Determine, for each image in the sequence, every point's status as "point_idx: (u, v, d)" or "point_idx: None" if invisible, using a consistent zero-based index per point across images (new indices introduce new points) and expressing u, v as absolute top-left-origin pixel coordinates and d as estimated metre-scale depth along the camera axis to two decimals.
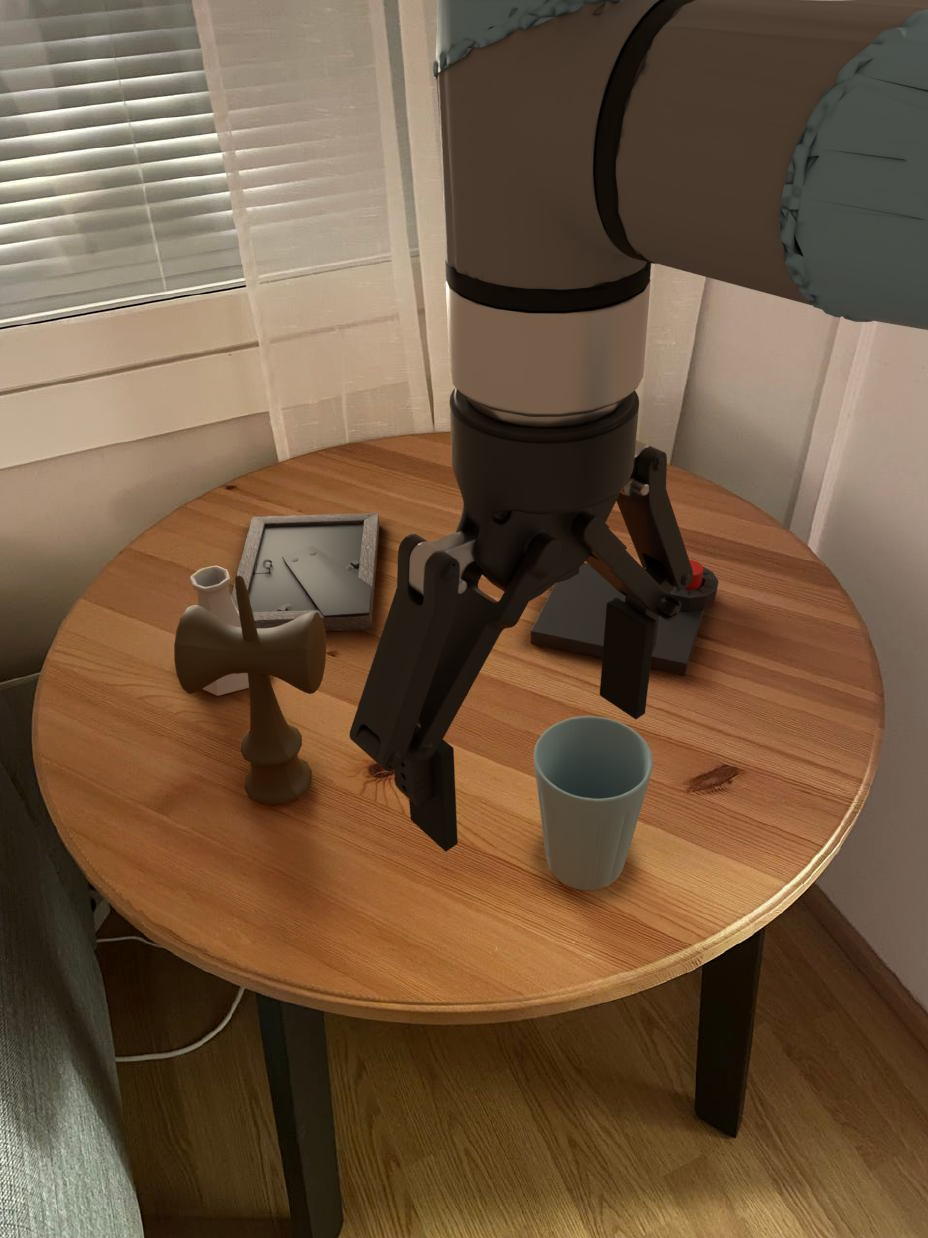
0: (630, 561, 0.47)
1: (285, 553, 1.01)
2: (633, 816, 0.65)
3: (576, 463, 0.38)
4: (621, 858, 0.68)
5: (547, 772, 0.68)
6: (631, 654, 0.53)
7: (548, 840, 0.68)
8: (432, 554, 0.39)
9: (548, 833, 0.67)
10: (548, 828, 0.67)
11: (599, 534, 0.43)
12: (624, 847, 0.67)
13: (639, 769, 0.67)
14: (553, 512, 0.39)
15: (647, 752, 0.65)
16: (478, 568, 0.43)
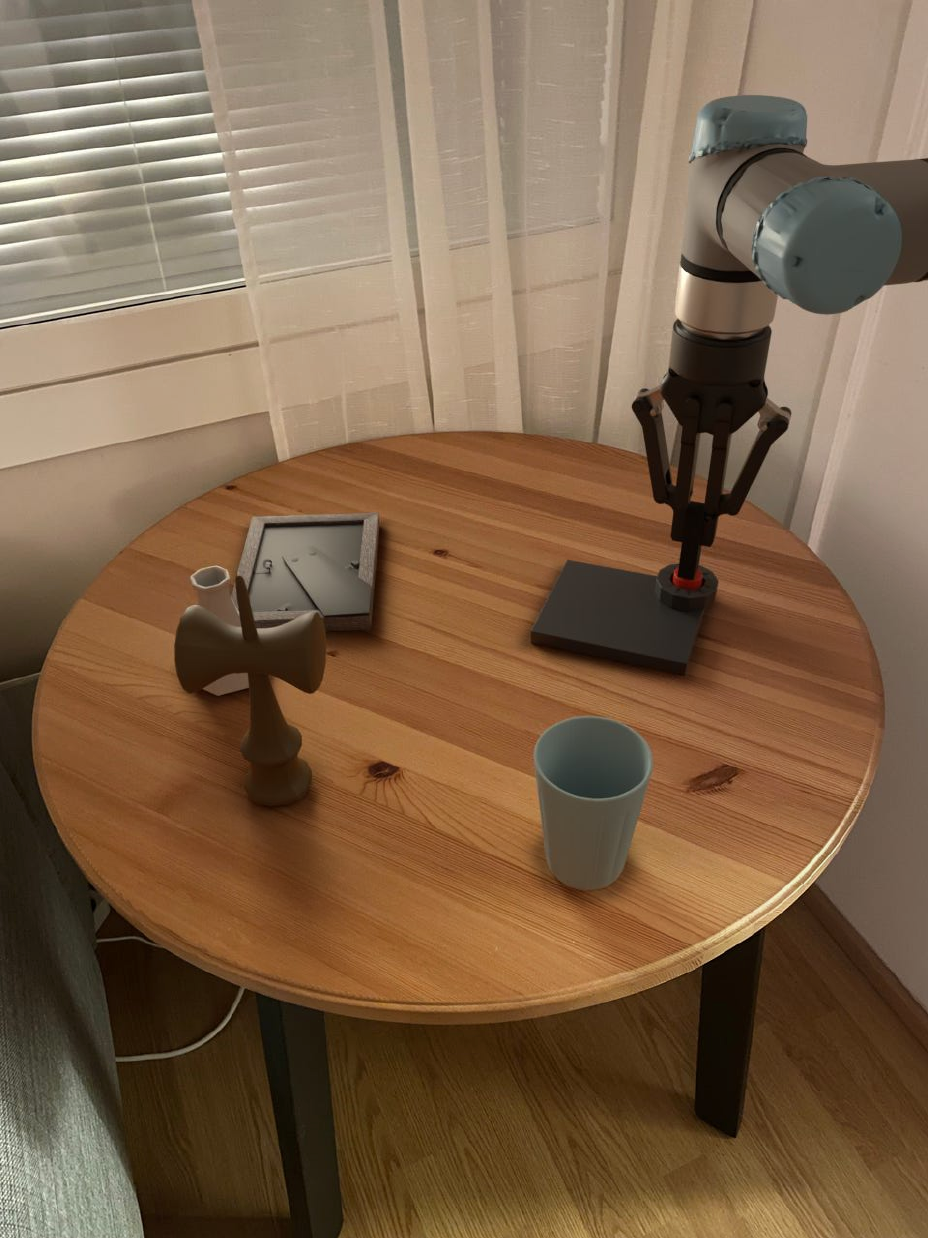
0: (722, 463, 0.83)
1: (285, 553, 1.01)
2: (633, 816, 0.65)
3: (692, 354, 0.77)
4: (621, 858, 0.68)
5: (547, 772, 0.68)
6: None
7: (548, 840, 0.68)
8: (635, 398, 0.84)
9: (548, 833, 0.67)
10: (548, 828, 0.67)
11: (728, 415, 0.80)
12: (624, 847, 0.67)
13: (639, 769, 0.67)
14: (682, 376, 0.78)
15: (647, 752, 0.65)
16: None
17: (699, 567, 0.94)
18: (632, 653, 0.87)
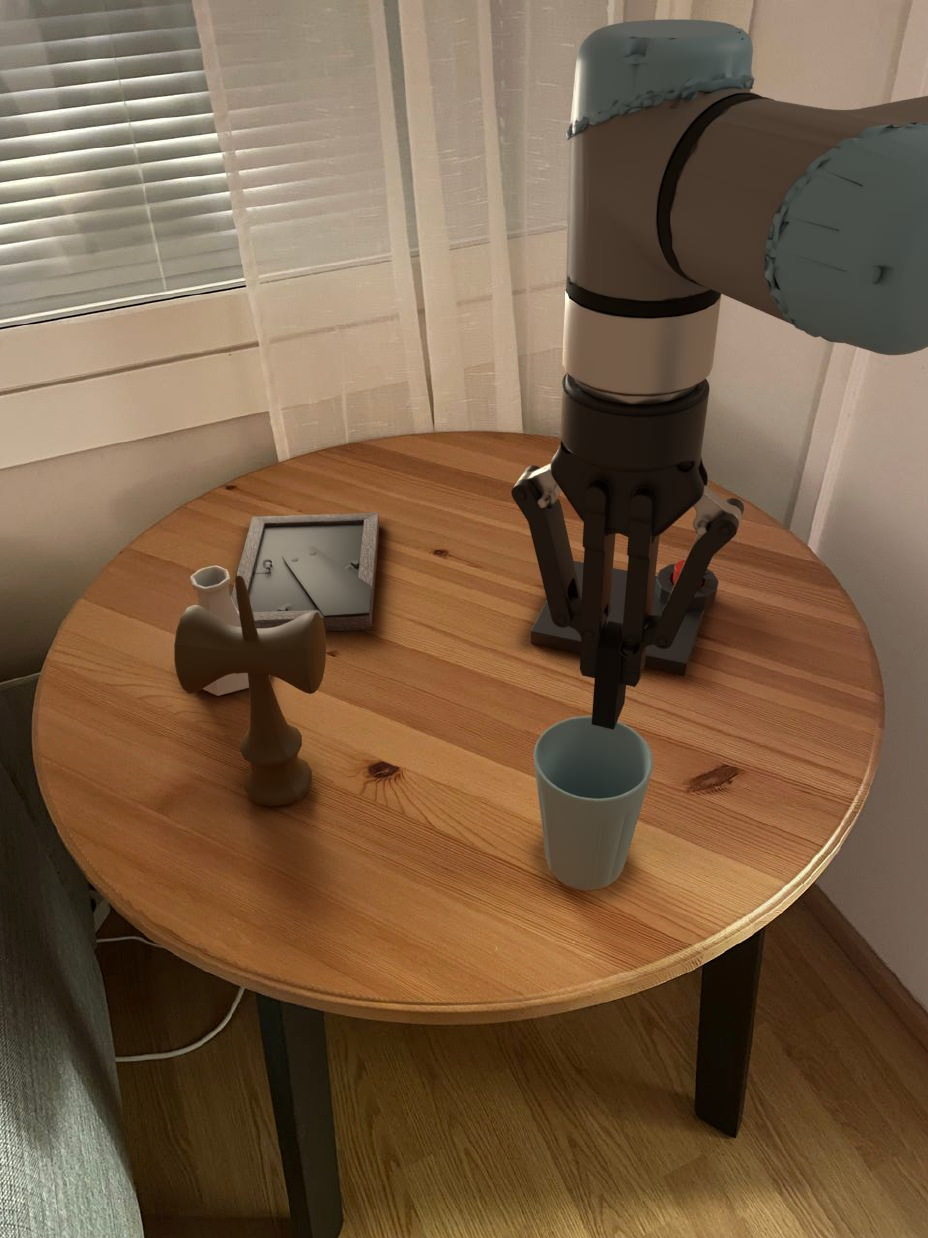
0: (644, 577, 0.57)
1: (285, 553, 1.01)
2: (633, 816, 0.65)
3: (585, 424, 0.50)
4: (621, 858, 0.68)
5: (547, 772, 0.68)
6: None
7: (548, 840, 0.68)
8: None
9: (548, 833, 0.67)
10: (548, 828, 0.67)
11: (647, 512, 0.53)
12: (624, 847, 0.67)
13: (639, 769, 0.67)
14: (574, 455, 0.52)
15: (647, 752, 0.65)
16: None
17: None
18: None
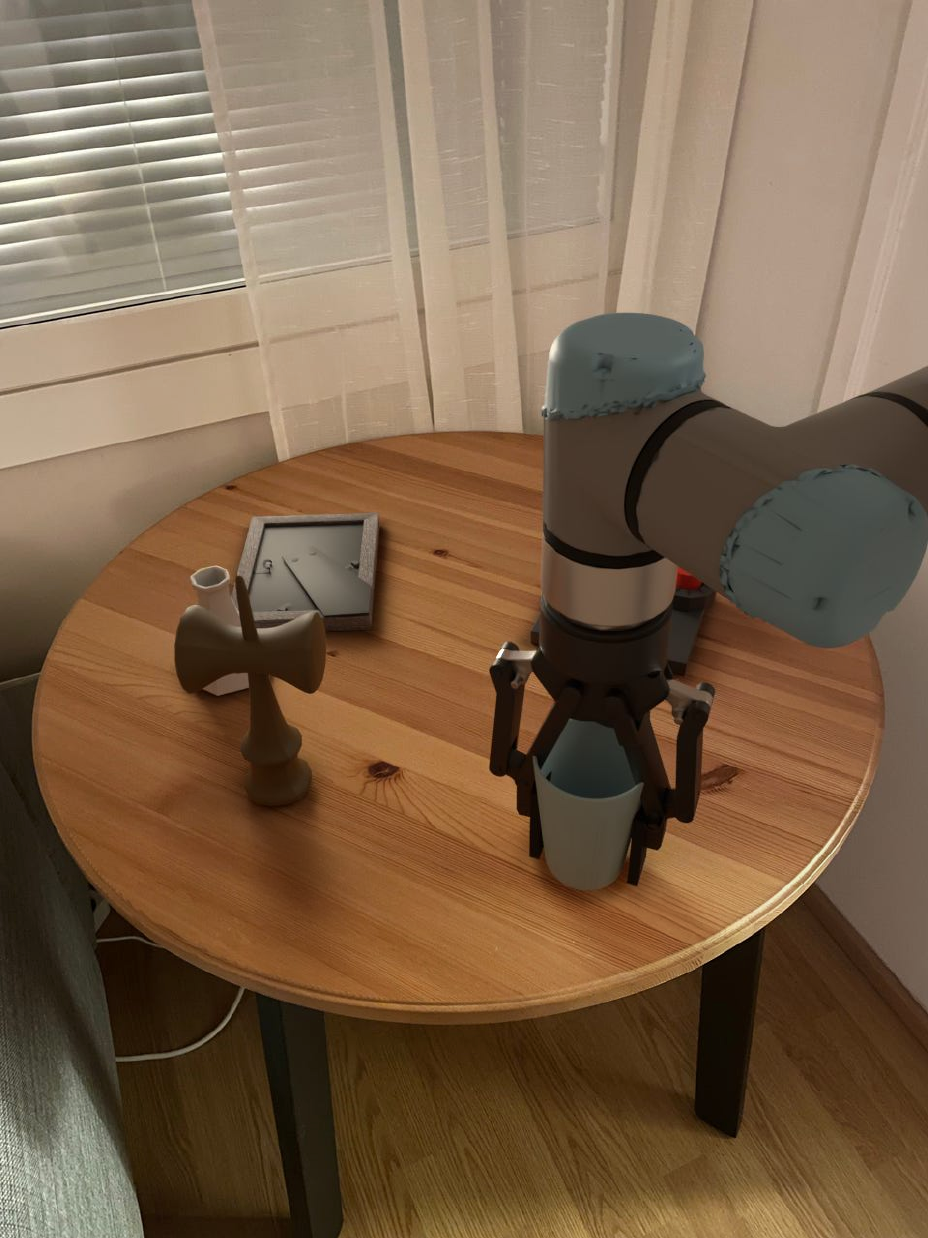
0: (642, 760, 0.62)
1: (285, 553, 1.01)
2: (632, 816, 0.65)
3: (562, 644, 0.56)
4: (620, 858, 0.68)
5: (546, 772, 0.68)
6: None
7: (547, 840, 0.68)
8: (496, 658, 0.62)
9: (547, 833, 0.67)
10: (547, 828, 0.67)
11: (619, 710, 0.59)
12: (623, 847, 0.67)
13: None
14: (552, 665, 0.58)
15: None
16: None
17: None
18: None
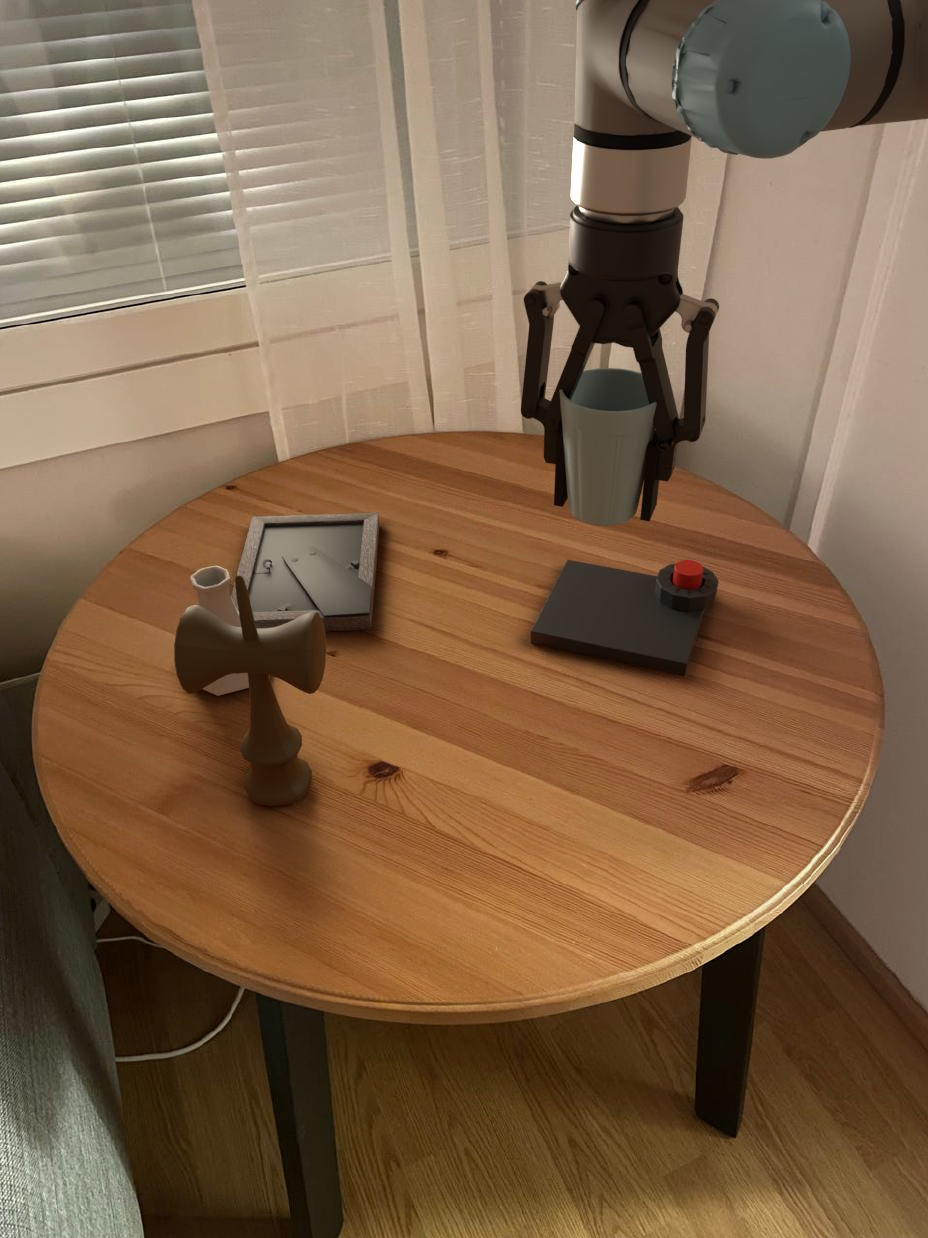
0: (656, 377, 0.72)
1: (285, 553, 1.01)
2: (646, 440, 0.75)
3: (589, 242, 0.65)
4: (635, 491, 0.78)
5: None
6: None
7: (571, 475, 0.77)
8: (530, 290, 0.72)
9: (571, 466, 0.77)
10: (571, 460, 0.76)
11: (636, 318, 0.69)
12: (638, 478, 0.77)
13: None
14: (580, 271, 0.67)
15: None
16: None
17: None
18: (632, 653, 0.87)
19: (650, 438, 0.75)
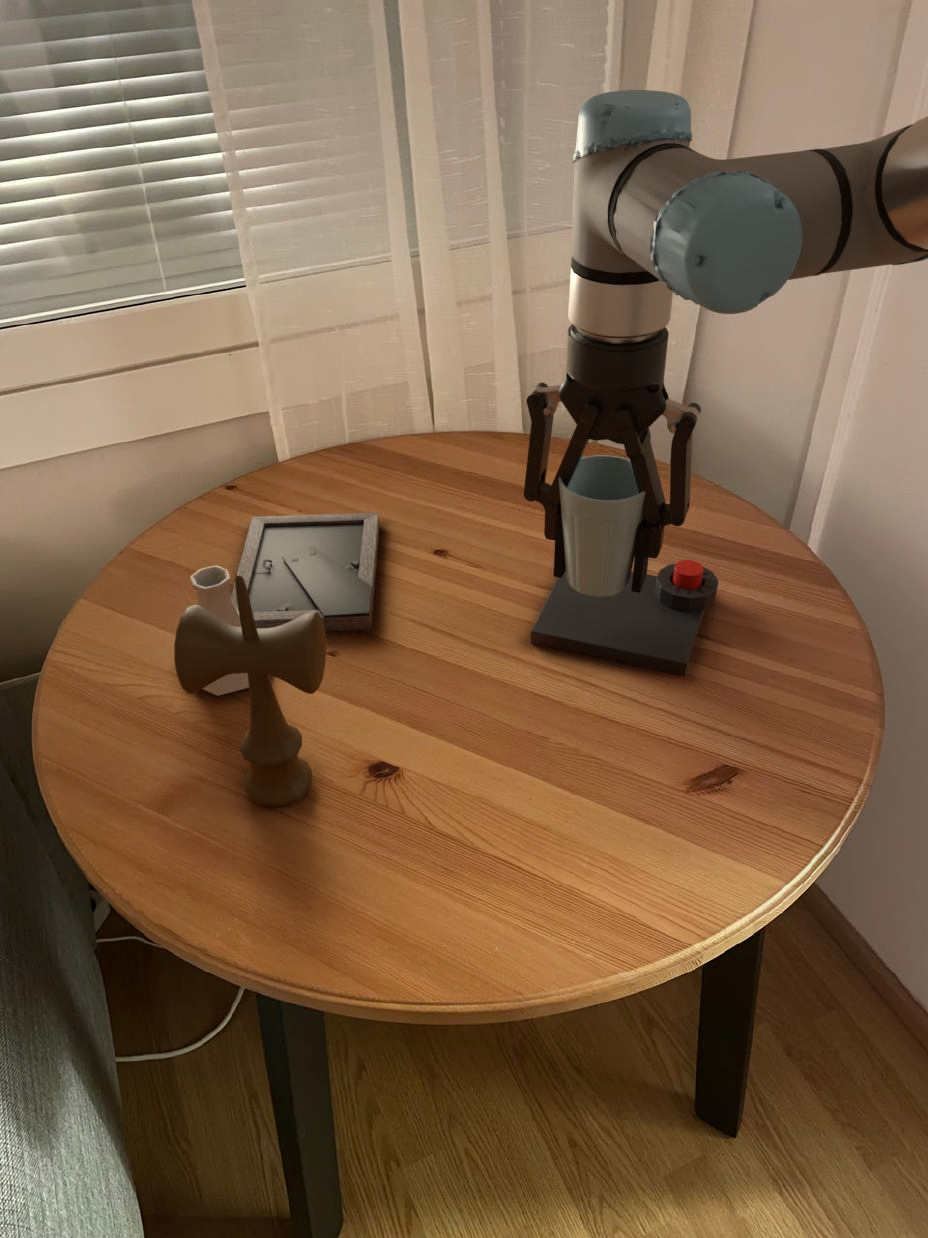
0: (645, 470, 0.80)
1: (285, 553, 1.01)
2: (636, 523, 0.83)
3: (585, 358, 0.74)
4: (626, 567, 0.86)
5: None
6: None
7: (569, 552, 0.86)
8: (532, 392, 0.80)
9: (569, 544, 0.85)
10: (569, 540, 0.85)
11: (627, 421, 0.77)
12: (629, 555, 0.85)
13: None
14: (577, 381, 0.76)
15: None
16: None
17: None
18: (632, 653, 0.87)
19: (640, 521, 0.84)
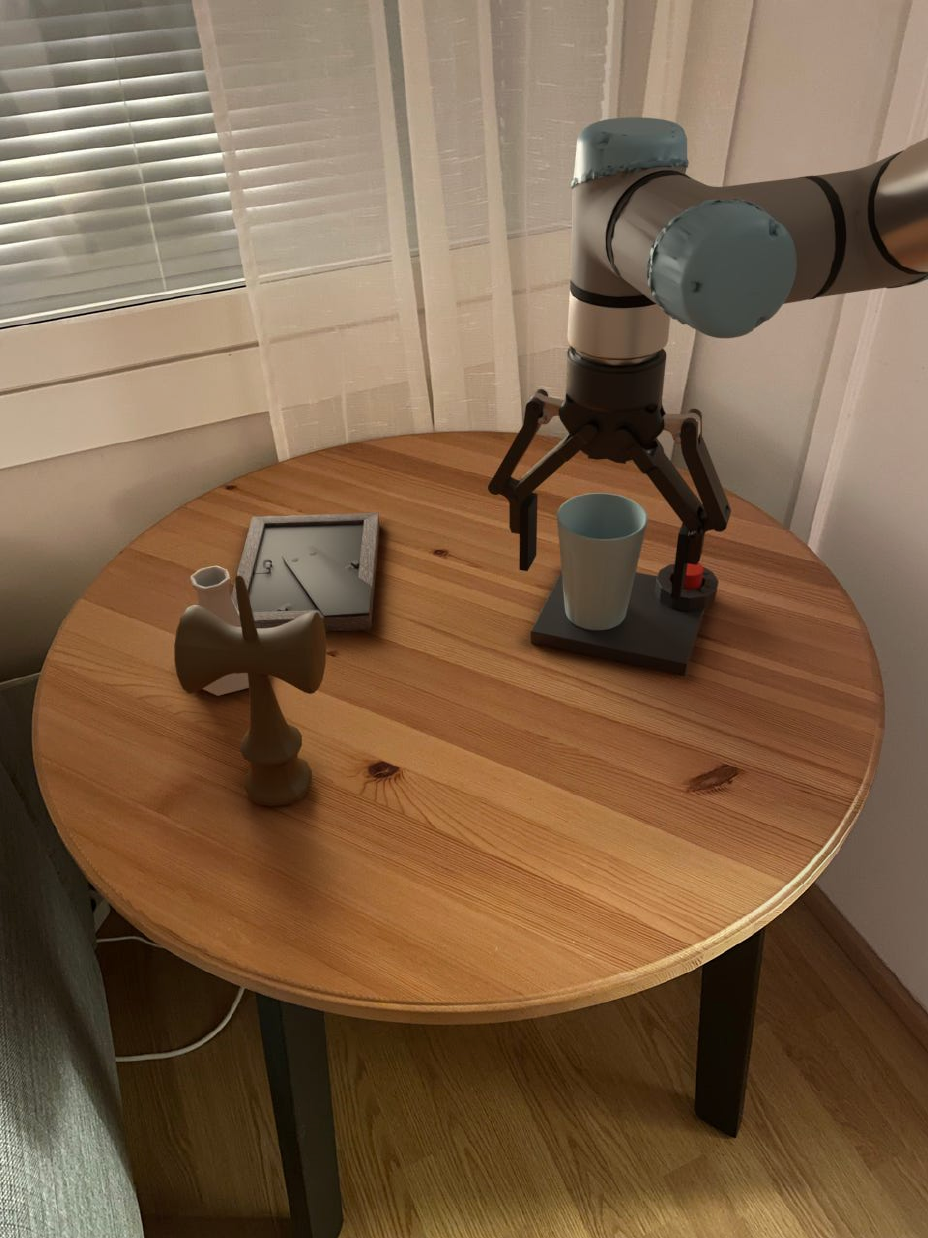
0: (665, 480, 0.80)
1: (285, 553, 1.01)
2: (633, 560, 0.85)
3: (584, 380, 0.75)
4: (623, 601, 0.88)
5: None
6: None
7: (567, 587, 0.88)
8: (533, 397, 0.81)
9: (567, 580, 0.88)
10: (567, 576, 0.87)
11: (626, 441, 0.78)
12: (626, 590, 0.87)
13: (637, 530, 0.87)
14: (576, 402, 0.77)
15: (643, 513, 0.86)
16: None
17: None
18: (632, 653, 0.87)
19: (636, 558, 0.86)
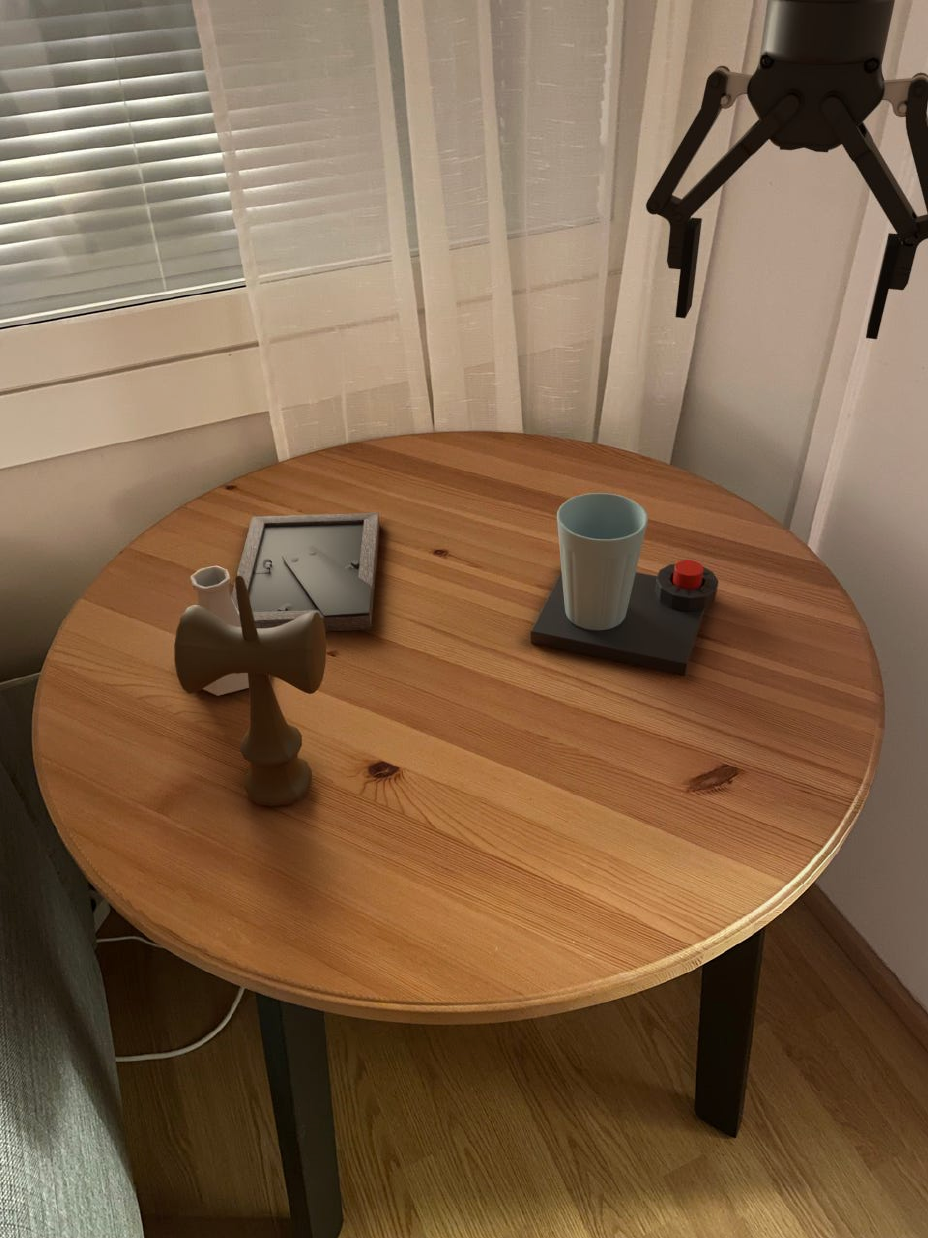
0: (878, 169, 0.65)
1: (285, 553, 1.01)
2: (633, 561, 0.85)
3: (795, 19, 0.60)
4: (623, 601, 0.88)
5: None
6: (879, 275, 0.69)
7: (567, 587, 0.88)
8: (716, 70, 0.66)
9: (567, 580, 0.88)
10: (567, 576, 0.87)
11: (836, 113, 0.64)
12: (626, 590, 0.87)
13: (637, 530, 0.87)
14: (780, 57, 0.62)
15: (643, 513, 0.86)
16: None
17: None
18: (632, 653, 0.87)
19: (636, 558, 0.86)
